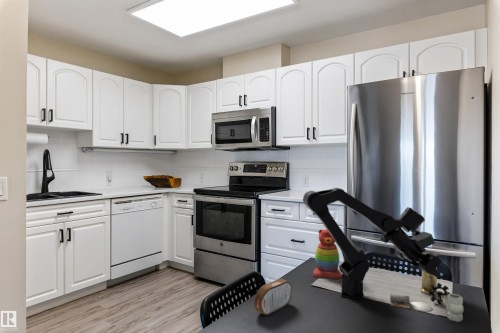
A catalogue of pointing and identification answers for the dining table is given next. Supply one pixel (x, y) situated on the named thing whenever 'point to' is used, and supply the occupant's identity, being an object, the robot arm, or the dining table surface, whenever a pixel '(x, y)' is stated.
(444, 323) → the dining table surface
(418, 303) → the gap pad
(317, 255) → the stacking bear
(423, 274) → the gold tall rounded piece
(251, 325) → the dining table surface
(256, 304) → the tin
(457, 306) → the valve
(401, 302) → the small brown box
